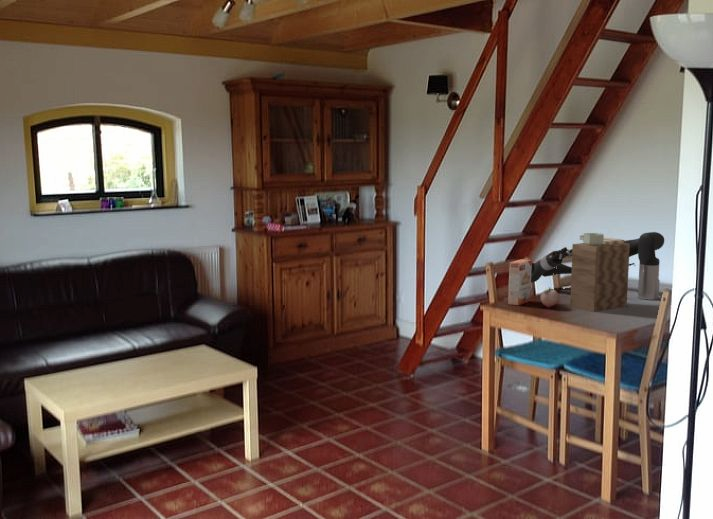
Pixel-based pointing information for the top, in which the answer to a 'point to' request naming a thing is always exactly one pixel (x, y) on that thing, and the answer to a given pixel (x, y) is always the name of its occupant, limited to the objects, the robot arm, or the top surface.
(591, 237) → the pale grey block
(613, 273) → the stand
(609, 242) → the lid
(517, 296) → the cracker box
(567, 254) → the robot arm
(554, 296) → the decorative fruit
